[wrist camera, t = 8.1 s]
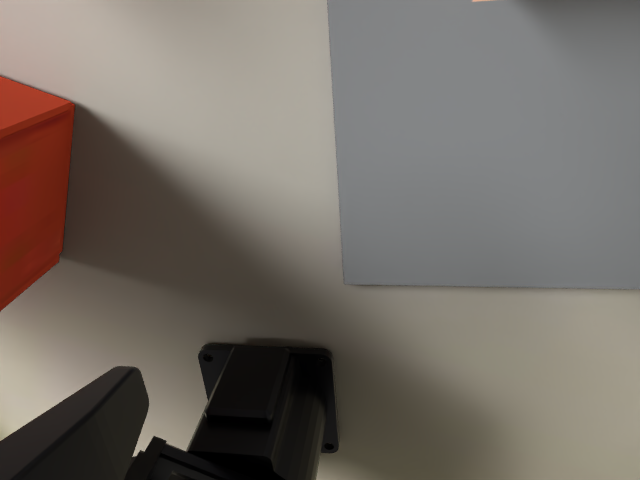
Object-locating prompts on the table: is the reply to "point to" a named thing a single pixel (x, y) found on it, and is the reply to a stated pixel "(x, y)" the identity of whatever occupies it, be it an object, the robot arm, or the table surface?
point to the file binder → (31, 183)
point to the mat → (488, 142)
